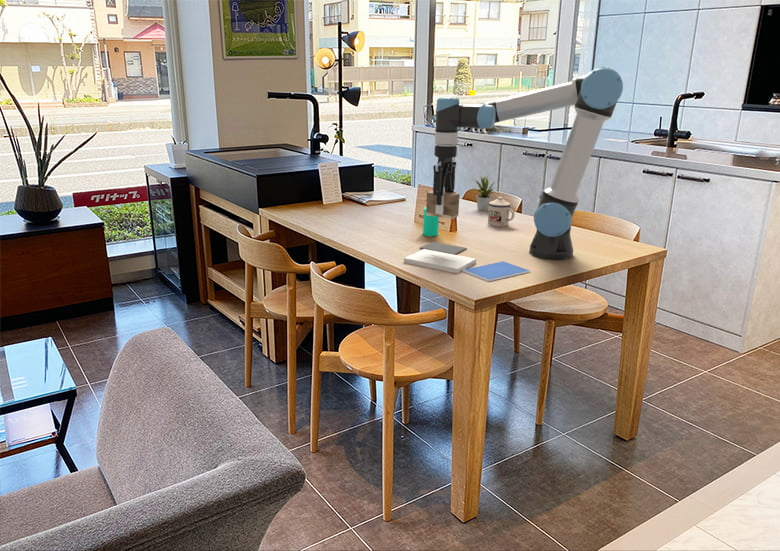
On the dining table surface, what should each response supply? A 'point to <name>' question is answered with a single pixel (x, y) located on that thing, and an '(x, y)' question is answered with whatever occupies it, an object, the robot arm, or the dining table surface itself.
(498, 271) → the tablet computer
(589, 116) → the robot arm
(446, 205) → the sanding block
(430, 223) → the candle
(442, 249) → the mat
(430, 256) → the marked board
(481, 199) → the house plant
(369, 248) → the dining table surface
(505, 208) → the teacup with lid
